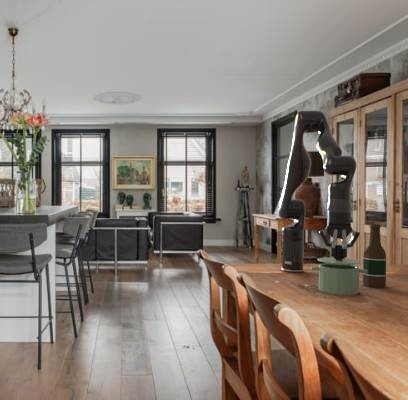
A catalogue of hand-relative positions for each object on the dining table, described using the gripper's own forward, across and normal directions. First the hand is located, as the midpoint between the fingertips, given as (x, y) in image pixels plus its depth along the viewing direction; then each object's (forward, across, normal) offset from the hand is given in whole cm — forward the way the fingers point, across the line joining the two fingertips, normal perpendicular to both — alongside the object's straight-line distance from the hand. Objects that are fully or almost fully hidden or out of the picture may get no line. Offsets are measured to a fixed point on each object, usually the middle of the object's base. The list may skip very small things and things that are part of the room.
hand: (338, 258), depth 159 cm
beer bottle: (+13, -15, -17) cm, 26 cm away
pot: (+12, 0, 0) cm, 12 cm away
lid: (+1, 0, 0) cm, 1 cm away
